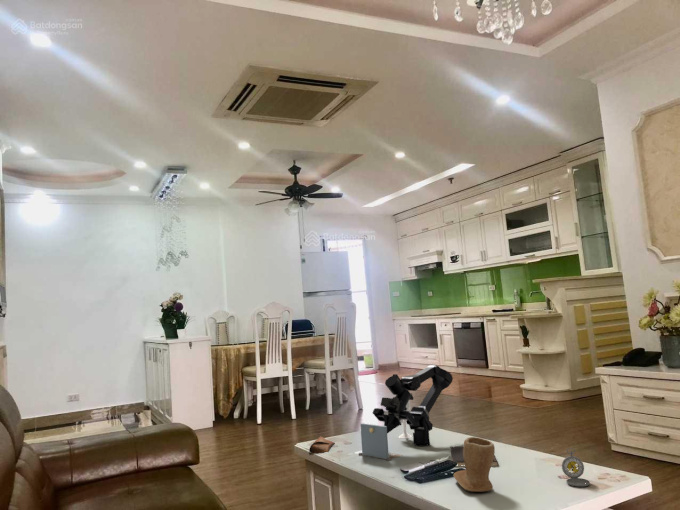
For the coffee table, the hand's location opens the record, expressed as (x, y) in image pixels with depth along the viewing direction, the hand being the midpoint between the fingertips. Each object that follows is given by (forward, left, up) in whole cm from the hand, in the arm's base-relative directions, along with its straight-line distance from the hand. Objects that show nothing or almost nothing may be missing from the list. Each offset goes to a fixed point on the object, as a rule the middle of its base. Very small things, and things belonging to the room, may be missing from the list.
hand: (384, 433), depth 208 cm
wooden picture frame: (+2, +2, -9) cm, 9 cm away
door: (+4, +5, -8) cm, 10 cm away
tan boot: (-29, +42, -9) cm, 52 cm away
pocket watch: (-60, +41, -9) cm, 73 cm away
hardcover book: (-33, +7, -10) cm, 35 cm away
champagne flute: (-8, -34, -9) cm, 37 cm away
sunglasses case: (+28, -18, -10) cm, 35 cm away
